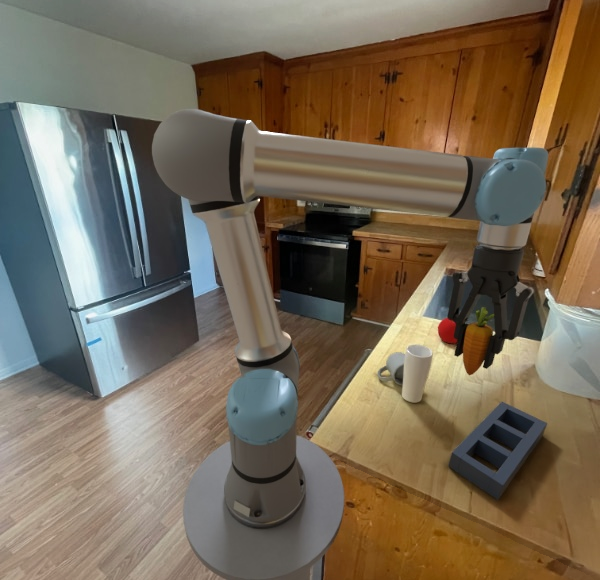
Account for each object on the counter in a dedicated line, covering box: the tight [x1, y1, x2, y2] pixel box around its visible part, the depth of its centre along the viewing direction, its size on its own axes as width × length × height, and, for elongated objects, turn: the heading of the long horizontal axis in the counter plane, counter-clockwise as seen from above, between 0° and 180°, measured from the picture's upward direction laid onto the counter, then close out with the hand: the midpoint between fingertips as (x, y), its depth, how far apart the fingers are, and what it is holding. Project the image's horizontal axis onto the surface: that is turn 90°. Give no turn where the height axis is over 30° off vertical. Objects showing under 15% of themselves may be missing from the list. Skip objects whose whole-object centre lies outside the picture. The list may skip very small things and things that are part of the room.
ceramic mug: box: [376, 351, 405, 387], centre depth 98 cm, size 11×8×8 cm
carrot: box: [462, 306, 494, 376], centre depth 65 cm, size 5×5×15 cm
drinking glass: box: [401, 344, 434, 404], centre depth 88 cm, size 7×7×15 cm
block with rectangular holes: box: [448, 401, 548, 501], centre depth 74 cm, size 10×26×4 cm, turn 130°
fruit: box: [437, 317, 457, 344], centre depth 120 cm, size 9×9×10 cm
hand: (473, 359), depth 66 cm, fingers closed on carrot, 5 cm apart
